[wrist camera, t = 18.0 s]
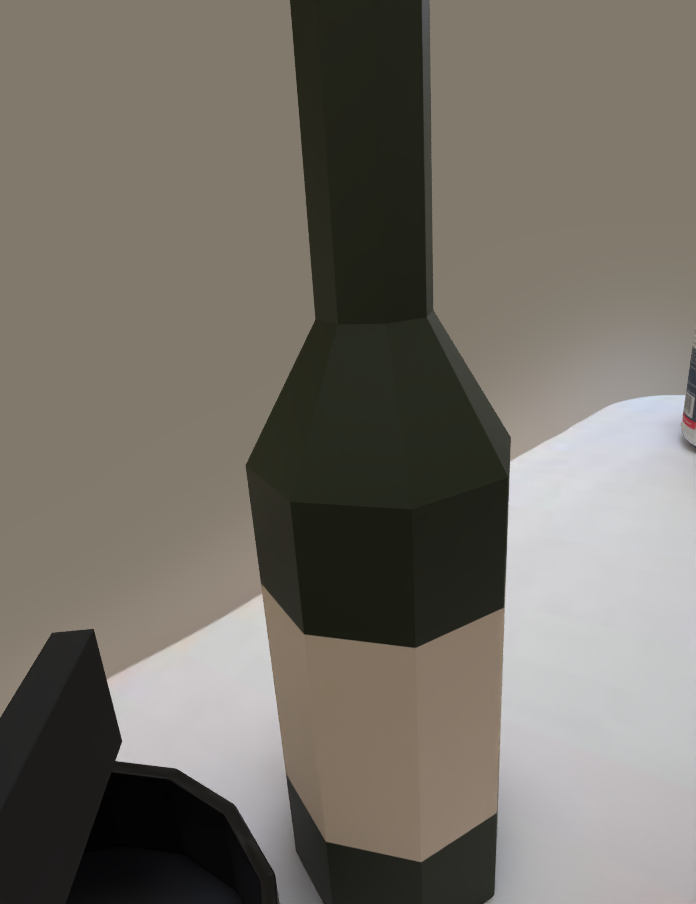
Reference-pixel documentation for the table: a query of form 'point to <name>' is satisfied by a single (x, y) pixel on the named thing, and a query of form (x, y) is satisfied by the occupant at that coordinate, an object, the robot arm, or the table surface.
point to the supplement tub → (690, 400)
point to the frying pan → (169, 845)
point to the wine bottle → (381, 499)
